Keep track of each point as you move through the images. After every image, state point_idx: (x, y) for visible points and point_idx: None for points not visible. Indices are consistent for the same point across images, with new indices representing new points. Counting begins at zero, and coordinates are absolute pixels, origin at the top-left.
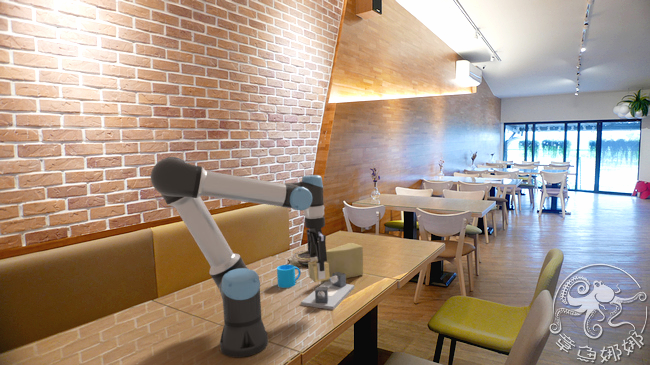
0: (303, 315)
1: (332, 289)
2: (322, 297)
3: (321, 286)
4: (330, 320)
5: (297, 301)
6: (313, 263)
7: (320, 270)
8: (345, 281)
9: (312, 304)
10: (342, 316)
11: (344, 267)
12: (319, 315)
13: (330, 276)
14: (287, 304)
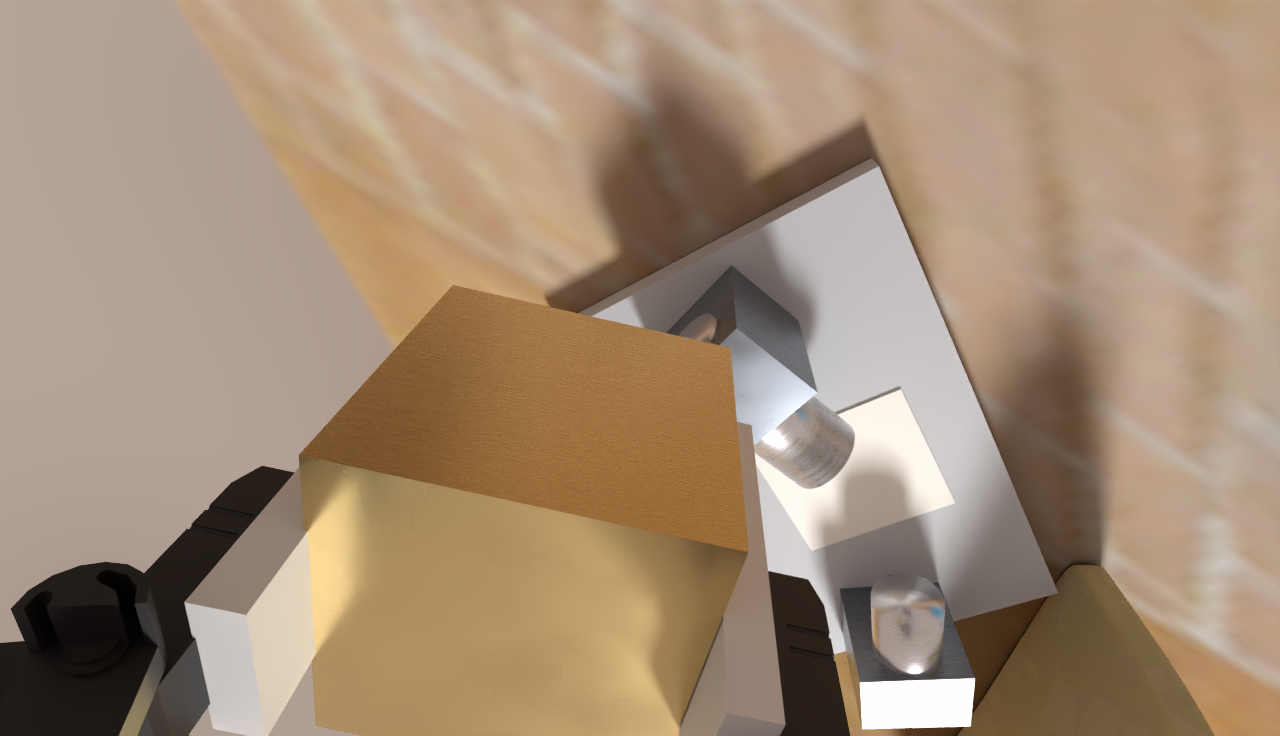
0: (630, 24)
1: (860, 532)
2: None
3: (794, 445)
4: (387, 181)
5: (977, 175)
6: (548, 576)
7: (268, 479)
8: (848, 661)
9: (744, 232)
10: (407, 303)
11: None
12: (532, 162)
13: (1058, 660)
14: (1016, 31)
